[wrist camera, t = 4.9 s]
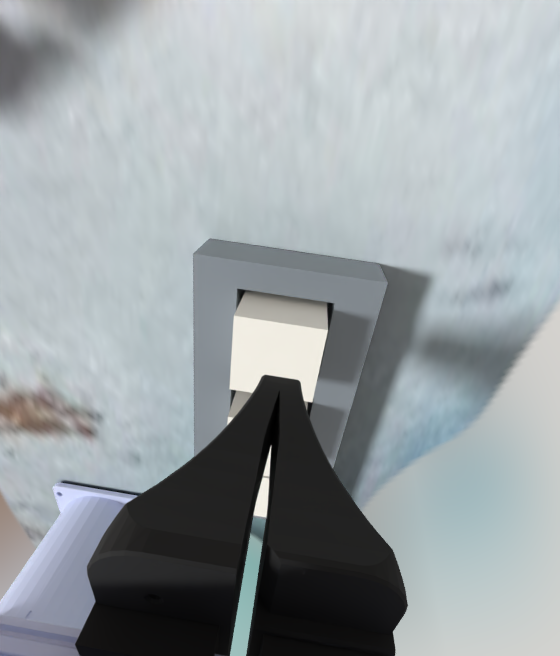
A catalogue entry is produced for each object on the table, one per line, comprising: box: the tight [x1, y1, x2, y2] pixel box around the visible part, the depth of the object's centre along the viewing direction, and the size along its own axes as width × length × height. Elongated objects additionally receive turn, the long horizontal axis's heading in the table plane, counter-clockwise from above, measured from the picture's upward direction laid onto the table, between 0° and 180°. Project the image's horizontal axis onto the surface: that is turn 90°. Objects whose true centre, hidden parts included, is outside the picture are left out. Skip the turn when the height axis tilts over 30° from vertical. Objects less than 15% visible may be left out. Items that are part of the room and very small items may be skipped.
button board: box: [193, 239, 388, 519], centre depth 20 cm, size 18×8×2 cm, turn 174°
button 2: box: [229, 290, 328, 402], centre depth 16 cm, size 4×4×3 cm
